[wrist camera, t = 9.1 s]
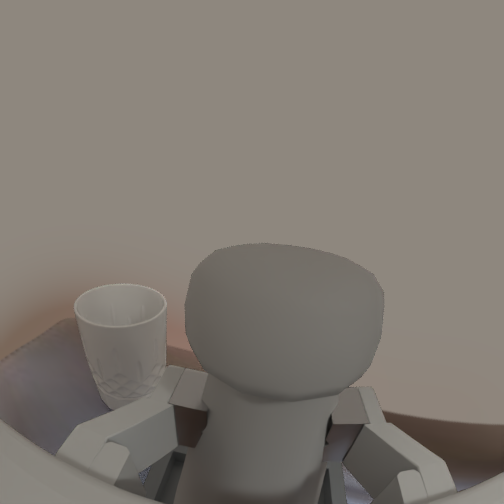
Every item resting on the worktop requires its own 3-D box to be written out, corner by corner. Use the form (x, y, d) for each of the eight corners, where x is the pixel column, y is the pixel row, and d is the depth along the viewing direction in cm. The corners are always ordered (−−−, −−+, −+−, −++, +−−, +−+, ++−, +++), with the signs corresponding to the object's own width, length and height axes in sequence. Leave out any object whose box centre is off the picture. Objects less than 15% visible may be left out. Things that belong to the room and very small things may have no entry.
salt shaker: (163, 492, 10) (139, 226, 7) (264, 469, 12) (313, 234, 10) (206, 582, 5) (201, 332, 2) (322, 540, 7) (471, 283, 5)
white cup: (111, 362, 27) (99, 279, 24) (178, 374, 27) (175, 288, 25) (83, 409, 19) (55, 315, 17) (163, 428, 20) (151, 334, 17)
